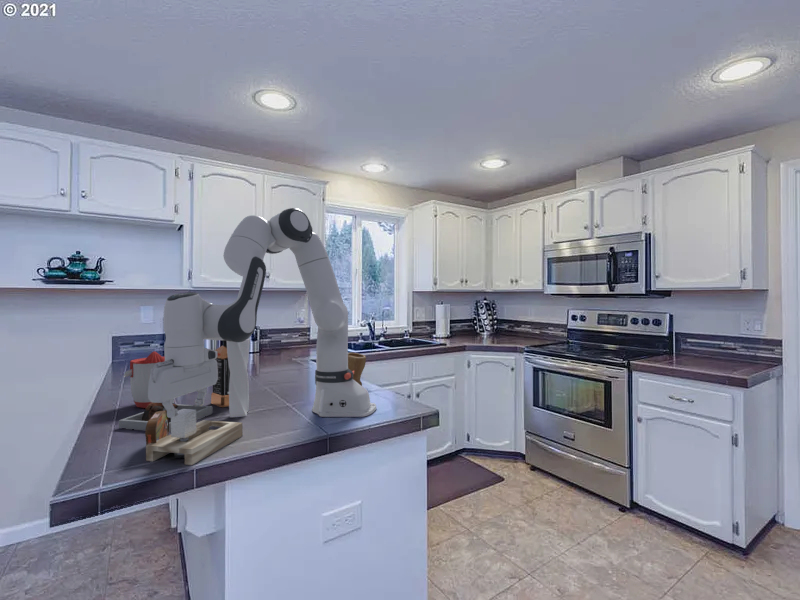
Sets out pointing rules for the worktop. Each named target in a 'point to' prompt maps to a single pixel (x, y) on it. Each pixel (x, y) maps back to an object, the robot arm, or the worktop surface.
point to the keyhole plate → (197, 441)
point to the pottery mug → (153, 410)
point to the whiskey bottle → (221, 378)
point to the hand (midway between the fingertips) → (186, 411)
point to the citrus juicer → (142, 377)
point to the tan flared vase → (356, 365)
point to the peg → (183, 426)
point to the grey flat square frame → (137, 424)
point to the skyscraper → (238, 377)
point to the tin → (157, 427)
